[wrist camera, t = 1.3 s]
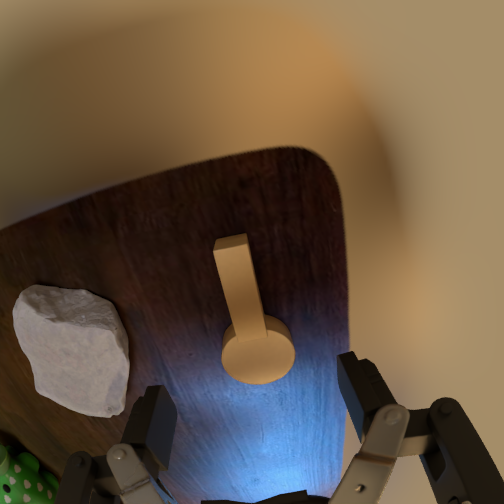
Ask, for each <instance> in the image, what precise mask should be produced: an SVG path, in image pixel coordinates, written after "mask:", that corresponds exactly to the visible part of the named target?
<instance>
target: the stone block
mask: <svg viewBox="0 0 504 504" xmlns="http://www.w3.org/2000/svg"><path fill="white" fill-rule="evenodd" d="M13 318H14V329H15V331H16V335H17V338H18V340H19V343H20V346H21V348H22V350H23V352H24V353H25V354H26V355H27V357H28V359H29V361H30V363H31V366H32V371H33V373H34V379H35V388H36V390H37V392H39V393H40V394H41V395H43V396H46V397H49V398H50V399H52V400H53V401H55V402H57V403H58V404H60V405H63V406H65V407H67V408H68V409H71V410H74V411H77V412H79V413H83V414H86V415H88V416H99V417H111V416H112V415H119V414H120V412H122V411H123V410H124V407H125V395H126V390H127V382H128V377H129V367H130V362H129V357H128V352H129V350H128V336H127V333H126V330H125V328H124V327H123V325H122V322H121V320H120V317H119V315H118V313H117V311H116V309H115V307H114V305H113V304H112V303H111V302H110V301H108V300H105V299H103V298H101V297H99V296H96V295H94V294H92V293H91V292H89V291H87V290H84V289H79V290H75V289H63V288H58V287H49V286H42V285H33V286H30V287H29V288H27V289H25V290H24V291H22V292H21V294H20V296H19V298H18V299H17V300H16V304H15V306H14V309H13Z"/></svg>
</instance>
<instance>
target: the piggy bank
mask: <svg viewBox="0 0 504 504" xmlns="http://www.w3.org/2000/svg"><path fill="white" fill-rule="evenodd" d="M39 466H40V465H39V461H38V460H37V459H36V458H35V457H34V456H33V455H31V454H30V453H27V452H24V453H20V454H19V453H18V452H17V451H16V450H15V449H14V448H13V447H11V446H5V447H4V446H3V445H2V444H0V504H54V501H55V498H56V495H57V492H58V486H59V483H58V480H57V478H56V477H55V476H54V475H52V474H51V473H49V472H47V471H40V472H38V469H39Z"/></svg>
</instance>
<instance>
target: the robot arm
mask: <svg viewBox="0 0 504 504" xmlns="http://www.w3.org/2000/svg"><path fill="white" fill-rule="evenodd" d="M337 375H338V384H339V388H340V391H341V394H342V396H343V399H344V401H345V404H346V406H347V409H348V412H349V414H350V417H351V419H352V422H353V424H354V427H355V429H356V432H357V435H358V438H359V440H360V443H361V444H362V443H363V444H362V447H361V449H360V451H359V452H358V454H356V455H355V456H354V457H353V459H352V461H351V463H350V465H349V467H348V469H347V470H346V472H345V474H344V476H343V478H342V480H341V481H340V483H339V485H338V487H337V488H336V490H335V492H334V494H333V495H332V497H331V498H327V497H323V496H316V495H307V490H302V491H297V492H291V493H285V494H279V495H277V496H274V497H271V498H268V499H265V500H262V501H259V502H256V503H244V502H237V501H230V500H203V501H201V504H378V502H379V500H380V498H381V496H382V494H383V491H384V489H385V487H386V484H387V482H388V480H389V477H390V475H391V473H392V470H393V467H394V465H395V462H396V460H397V457H403V456H412V455H419V457H420V459H421V462H422V464H423V467H424V469H425V472H426V474H427V476H428V479H429V482H430V485H431V487H432V490H433V492H434V495H435V498H436V501H437V503H438V504H504V481H503V479H502V477H501V476H500V473H499V471H498V469H497V467H496V465H495V464H494V462H493V460H492V458H491V456H490V455H489V453H488V451H487V449H486V447H485V445H484V444H483V442H482V440H481V438H480V437H479V435H478V433H477V432H476V430H475V428H474V427H473V425H472V423H471V422H470V420H469V418H468V417H467V415H466V413H465V412H464V410H463V409H462V407H461V405H460V404H459V403H458V402H457V401H456V400H454V399H452V398H447V397H445V398H440V399H437V400H436V401H434V402H433V403H432V405H431V407H430V408H426V409H419V410H409V409H406V408H405V407H404V406H402V405H399V404H398V403H397V402H396V400H395V399H394V397H393V395H392V393H391V392H390V390H389V388H388V386H387V385H386V383H385V381H384V380H383V378H382V376H381V374H380V373H379V371H378V369H377V367H376V366H375V364H374V363H372V362H371V361H369V360H368V359H362V360H358V359H357V357H356V355H355V353H354V352H353V351H350V352H347V353H343V354H339V355H337ZM176 422H177V409H176V406H175V404H174V402H173V400H172V399H171V397H170V395H169V393H168V391H167V389H166V388H165V386H164V385H155V386H148V387H147V389H146V392H145V395H144V397H139V399H138V400H137V401H136V402H135V403H134V405H133V408H132V411H131V414H130V416H129V420H128V422H127V425H126V428H125V431H124V434H123V437H122V440H121V443H120V444H117V445H115V446H113V447H112V448H111V449H110V450H109V451H108V453H107V455H103V456H97V457H91V456H90V455H89V454H88V453H87V452H85V451H78V452H76V453H74V454H72V455H71V456H70V458H69V459H68V462H67V465H66V467H65V470H64V473H63V476H62V479H61V482H60V485H59V488H58V492H57V495H56V498H55V501H54V504H120V501H121V499H122V501H123V503H124V504H178V503H177V501H176V500H175V499H174V497H173V496H172V495H171V493H170V492H169V491H168V489H167V488H166V486H165V485H164V483H163V482H162V481H161V479H160V478H159V477H158V473H159V471H168V466H169V460H170V454H171V449H172V443H173V438H174V432H175V427H176ZM92 490H93V491H92ZM91 492H92V495H91ZM90 496H91V499H90ZM89 500H90V503H89Z"/></svg>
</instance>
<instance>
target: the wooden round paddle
mask: <svg viewBox="0 0 504 504" xmlns="http://www.w3.org/2000/svg"><path fill="white" fill-rule="evenodd" d="M213 253H214V257H215V261H216V265H217V269H218V272H219V276H220V280H221V283H222V287H223V291H224V294H225V298H226V302H227V305H228V309H229V312H230V316H231V319H232V324H231V325H230V326H229V327H228V328H227V330H226V331H225V333H224V336H223V342H222V356H221V359H222V364H223V367H224V369H225V370H226V372H227V373H228V374H229V375H230V376H231V377H233V378H234V379H236V380H238V381H240V382H243V383H247V384H255V385H257V384H266V383H270V382H273V381H276V380H278V379H280V378H281V377H283V376H284V375H285V374H286V373H287V372H288V371H289V370H290V369H291V367H292V366H293V363H294V360H295V349H294V345H293V341H292V338H291V334H290V331H289V329H288V328H287V326H286V325H285V324H284V323H283V322H282V321H280V320H279V319H277V318H275V317H272V316H269V315H265V314H264V310H263V306H262V301H261V297H260V292H259V288H258V283H257V278H256V274H255V269H254V265H253V260H252V256H251V251H250V247H249V242H248V237H247V234H246V233H243V234H239V235H234V236H229V237H225V238H220V239H216V242H215V246H214V250H213Z"/></svg>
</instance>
